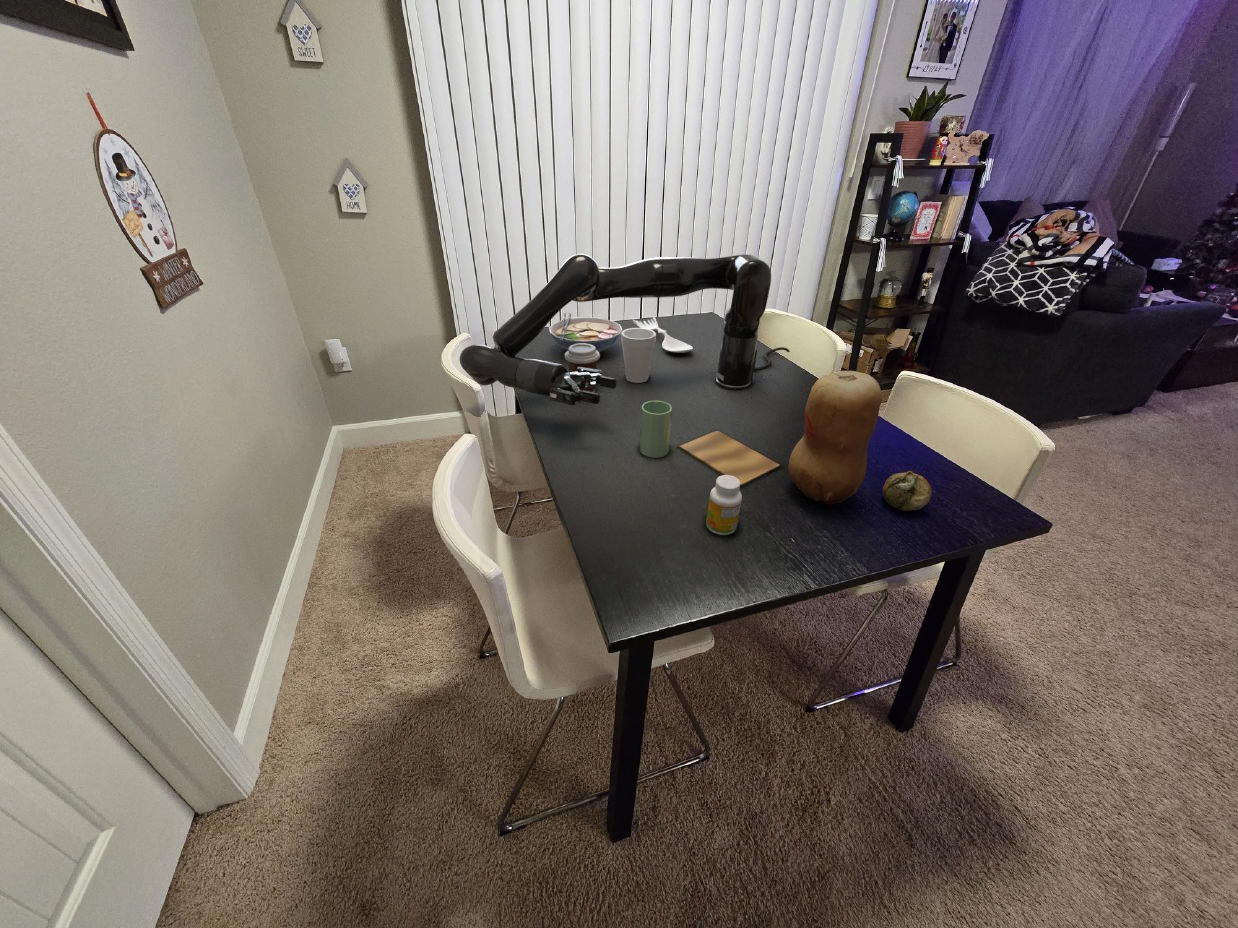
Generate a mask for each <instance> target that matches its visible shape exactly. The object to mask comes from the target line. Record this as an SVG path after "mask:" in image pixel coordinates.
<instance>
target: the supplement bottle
mask: <svg viewBox="0 0 1238 928" xmlns="http://www.w3.org/2000/svg"><path fill="white" fill-rule="evenodd" d="M740 488H741V486H740V481H739V479H738V478H736V477H734V476H731V475H722V474H721V475H719V476H718V477H717V478H716V479H715V485H714V486H713V488H712V489H711V490H710V494H709V498H708V505H707V512H706V513H707V514H706V520H705V525H706V527H707V529H708V530H709V531H710V532H711V533H713V534H716V535H719V536H728V535H731V534H733V533H735V532H736V530H737V528H738V523H739V518H740V511H741V507H742V501H743V495H742V492H741V490H740Z"/></svg>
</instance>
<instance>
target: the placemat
mask: <svg viewBox="0 0 1238 928" xmlns="http://www.w3.org/2000/svg"><path fill="white" fill-rule="evenodd" d="M678 448H679V449H680V450H682V451H684V452H685V453H687V454H689V455H690V456H692V457H693V458H695V459H696V460H698V461H700V462H701V463H703V464H704V465H706V466H708V467H709V468H711V469H712V470H714V471H716V472H717V473H718V474H721V476H722V475H731V476H734V477H736V478H738V479H739V481H740V487H743V486H745V485H747V484H748V483H750V482H753V481H754V480H757V479H759V478H761V477H763V476H765V475H767V474H769V473H770V472H772V471H774V470H776V469H778V468H780V467H781V464H779V463H778V462H776V461H774V460H773V459H770V458H768V457H767V456H765V455H763V454H761V453H759V452H757V451H755V450H754V449H752V448H750V447H749V446H747V445H745V444H743V443H741V442H739V441H738V440H736V439H734V438H732V437H730V436H728V435H726V434H725V433H723V432H721V431H719V430H715V431H713V432H710V433H708V434H705V435H703V436H701V437H698V438H695V439H693V440H691V441H688V442H686V443H683V444H681V445H679V447H678Z"/></svg>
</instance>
